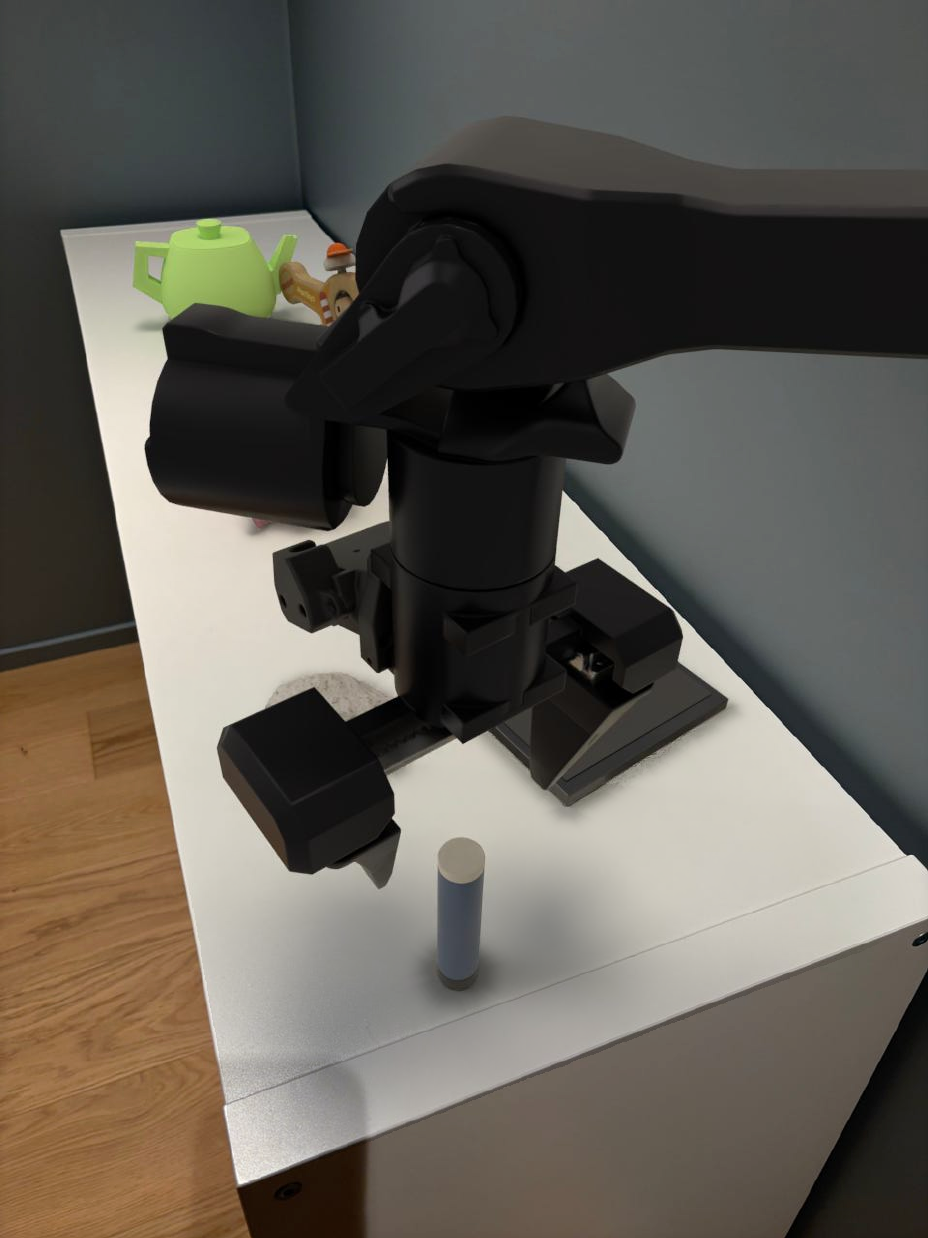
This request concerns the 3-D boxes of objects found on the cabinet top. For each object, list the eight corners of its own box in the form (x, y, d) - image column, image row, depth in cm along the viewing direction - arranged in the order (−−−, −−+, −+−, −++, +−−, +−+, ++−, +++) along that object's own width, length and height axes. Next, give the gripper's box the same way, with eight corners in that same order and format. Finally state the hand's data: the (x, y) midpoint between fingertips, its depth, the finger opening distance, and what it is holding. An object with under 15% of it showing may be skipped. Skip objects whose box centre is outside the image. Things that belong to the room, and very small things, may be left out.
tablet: (726, 708, 65) (729, 697, 64) (567, 807, 58) (568, 795, 57) (456, 507, 84) (456, 497, 84) (312, 562, 77) (311, 551, 77)
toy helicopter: (350, 390, 103) (342, 264, 94) (259, 330, 115) (245, 215, 106) (409, 371, 107) (407, 250, 98) (315, 316, 119) (306, 204, 110)
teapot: (296, 299, 123) (286, 200, 115) (313, 338, 114) (304, 232, 106) (141, 313, 119) (120, 209, 111) (144, 354, 109) (121, 244, 101)
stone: (436, 739, 59) (278, 741, 55) (419, 788, 61) (268, 793, 58) (404, 638, 66) (262, 634, 62) (390, 686, 69) (254, 684, 65)
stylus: (481, 957, 50) (489, 842, 43) (473, 994, 48) (479, 880, 42) (442, 948, 50) (443, 833, 44) (432, 985, 48) (432, 871, 42)
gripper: (530, 388, 41) (510, 653, 51) (119, 520, 32) (192, 809, 42) (724, 498, 34) (657, 779, 44) (270, 704, 25) (314, 998, 35)
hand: (462, 828), depth 41 cm, fingers open, 9 cm apart
